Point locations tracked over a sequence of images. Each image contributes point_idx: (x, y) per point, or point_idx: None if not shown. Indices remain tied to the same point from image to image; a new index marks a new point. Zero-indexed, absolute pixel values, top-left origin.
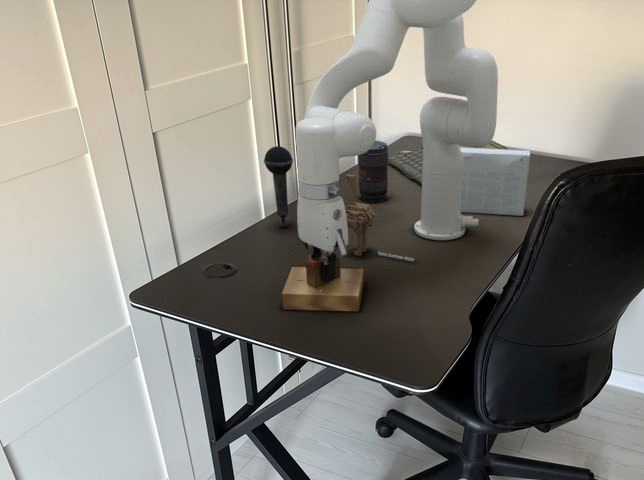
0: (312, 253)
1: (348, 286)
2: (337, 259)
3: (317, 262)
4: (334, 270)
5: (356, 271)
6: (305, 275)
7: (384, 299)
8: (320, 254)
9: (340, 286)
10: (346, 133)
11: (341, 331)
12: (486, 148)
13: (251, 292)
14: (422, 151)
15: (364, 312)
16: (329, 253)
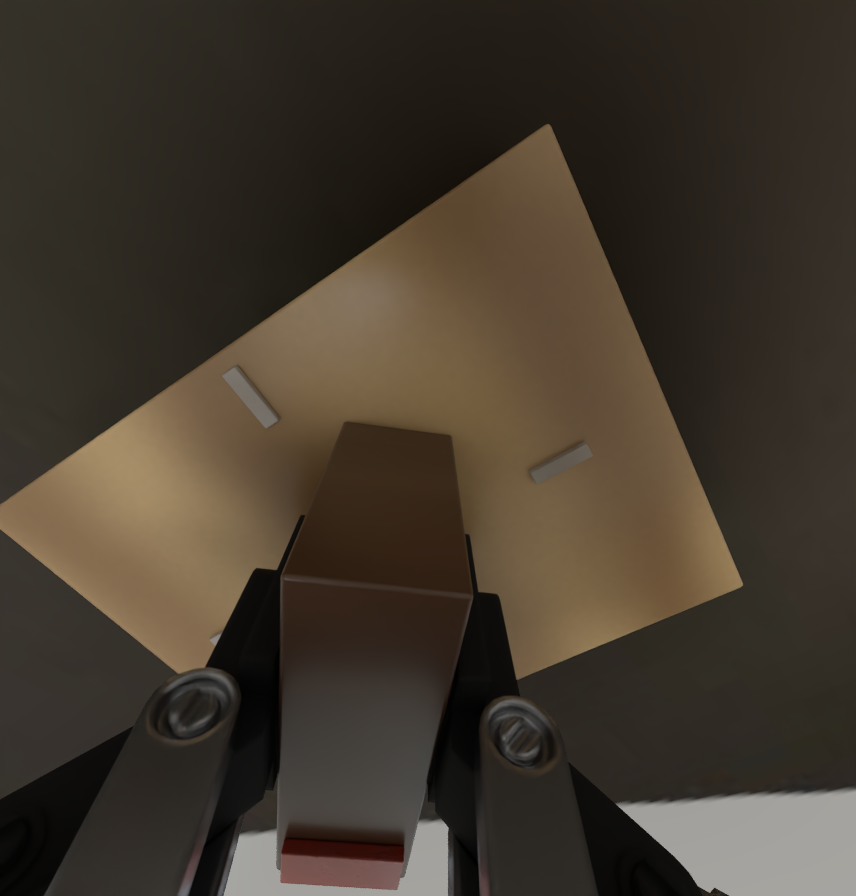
0: (229, 859)
1: (607, 524)
2: (560, 733)
3: (404, 856)
4: (505, 638)
5: (516, 242)
6: (202, 565)
7: (784, 287)
8: (265, 736)
9: (550, 554)
10: None
11: (678, 675)
12: None
13: (51, 651)
14: None
15: (713, 501)
16: (326, 650)
